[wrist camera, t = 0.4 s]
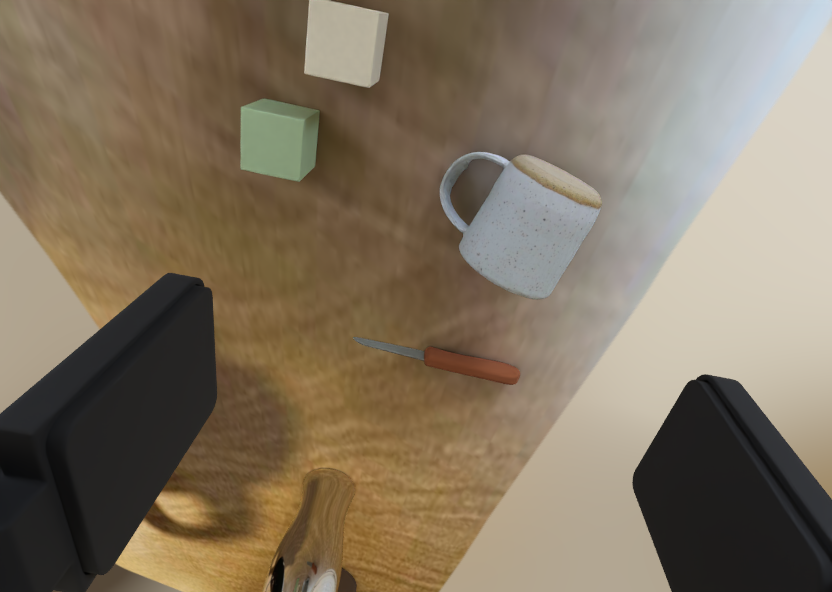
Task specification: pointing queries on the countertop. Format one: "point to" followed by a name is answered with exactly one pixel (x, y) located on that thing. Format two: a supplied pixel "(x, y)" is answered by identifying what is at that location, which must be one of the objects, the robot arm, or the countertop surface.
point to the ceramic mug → (524, 223)
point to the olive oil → (346, 582)
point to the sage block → (278, 139)
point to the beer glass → (314, 537)
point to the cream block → (345, 42)
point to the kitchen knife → (453, 362)
